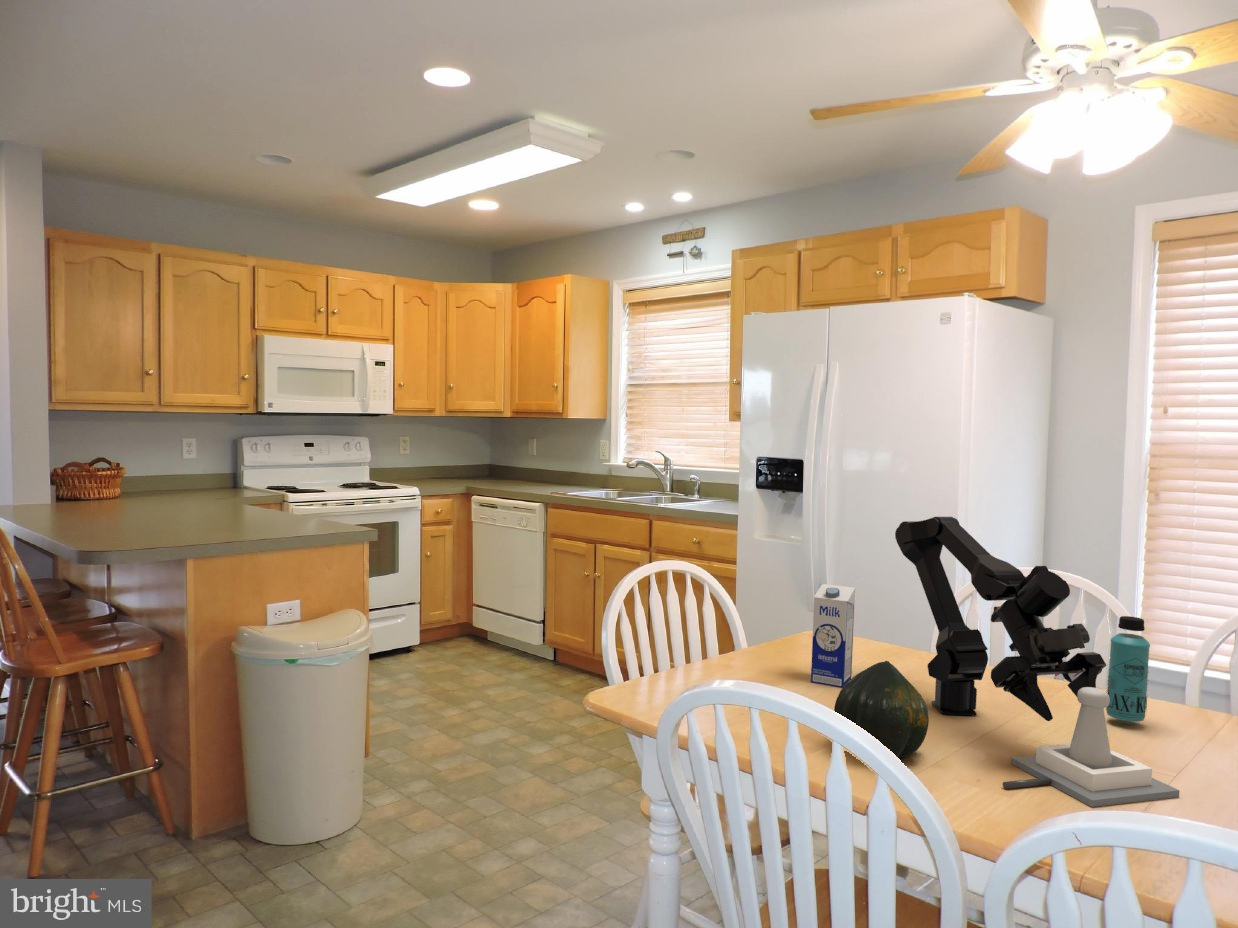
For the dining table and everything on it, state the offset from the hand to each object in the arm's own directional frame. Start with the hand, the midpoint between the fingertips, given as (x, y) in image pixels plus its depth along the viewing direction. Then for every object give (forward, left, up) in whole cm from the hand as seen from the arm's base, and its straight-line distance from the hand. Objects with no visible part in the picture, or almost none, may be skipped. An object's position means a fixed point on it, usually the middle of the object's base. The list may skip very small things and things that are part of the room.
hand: (1074, 717), depth 134 cm
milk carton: (-29, +43, -8) cm, 53 cm away
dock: (-3, -5, -8) cm, 10 cm away
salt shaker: (+1, -3, -7) cm, 8 cm away
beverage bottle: (+21, +23, -8) cm, 33 cm away
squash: (-29, +5, -9) cm, 30 cm away
